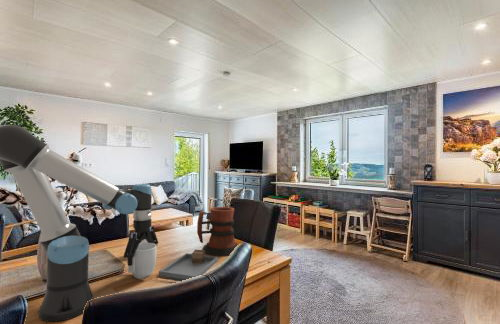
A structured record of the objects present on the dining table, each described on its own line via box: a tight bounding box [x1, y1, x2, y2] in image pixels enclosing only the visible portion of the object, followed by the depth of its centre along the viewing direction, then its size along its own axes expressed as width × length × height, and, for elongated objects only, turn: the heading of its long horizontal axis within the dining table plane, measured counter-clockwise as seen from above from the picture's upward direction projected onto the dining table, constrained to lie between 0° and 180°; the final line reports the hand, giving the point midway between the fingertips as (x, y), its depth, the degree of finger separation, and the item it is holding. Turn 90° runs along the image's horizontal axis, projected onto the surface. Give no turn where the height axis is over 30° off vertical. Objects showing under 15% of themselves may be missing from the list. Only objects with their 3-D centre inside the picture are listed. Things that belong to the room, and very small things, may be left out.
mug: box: [126, 243, 158, 280], centre depth 116 cm, size 15×11×13 cm
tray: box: [158, 252, 219, 282], centre depth 123 cm, size 24×18×3 cm
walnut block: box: [191, 249, 206, 264], centre depth 130 cm, size 5×5×5 cm
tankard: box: [196, 206, 239, 257], centre depth 149 cm, size 22×25×25 cm
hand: (142, 266), depth 116 cm, fingers open, 13 cm apart
